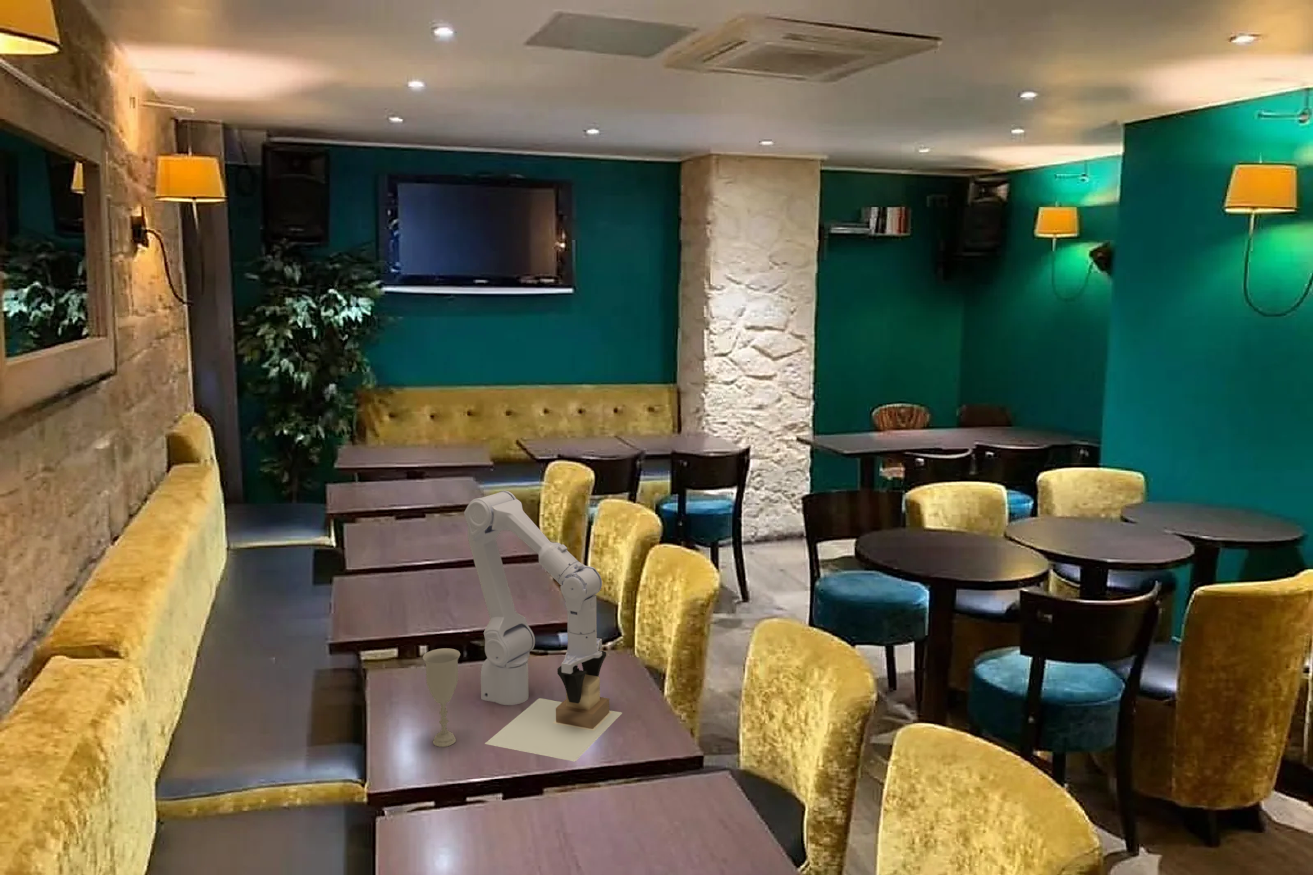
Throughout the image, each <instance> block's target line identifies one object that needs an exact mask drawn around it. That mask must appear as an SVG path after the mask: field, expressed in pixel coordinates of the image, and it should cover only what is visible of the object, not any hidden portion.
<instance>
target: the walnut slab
mask: <svg viewBox="0 0 1313 875" xmlns="http://www.w3.org/2000/svg"><path fill="white" fill-rule="evenodd" d="M561 702H562V703H561V704H560V705H559V706H558V707H556V722H557V723H562V724H568V725H573V726H579V727H584V728H589V729H593V728H594V727H595V726H596V725H597V724H598V723H599V722H600V721H601V720H602V719H603V718H604V717H605V716H606V715H607V714H608V713H609V710H610V698H609V697H604V696H600V701H599V702H598V703H597V704H595V705H594V706H593V707H592V708H591V709H590V710H584V709H579V708H573V707H568V706H566V699H564V700H563V701H561Z"/></svg>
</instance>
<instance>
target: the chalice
mask: <svg viewBox="0 0 1313 875" xmlns="http://www.w3.org/2000/svg"><path fill="white" fill-rule="evenodd" d="M460 656H461V653H460V651H459V650H457V649H454V648H447V647H446V648H437V649H432V650H430V651H428V652H426V653H424V655H422V660H423V662H424V663H425V675H426V677H425V679H426V685H427V688H428V689H429V693H430V694H431V696H432V698H433V699H434V701H435V702H436V703H437V704H439V705H440V711H439V715H440V716H441V717H440V721H439V722H438V723H439V724H440V726H441V730H440V731H438V733H436V734H435V736H434V739H433V741H432V743H433V745H434V746H435V747H439V748H446V747H450V746H452V745H454V744H455V743H456V742H457V739H456V737H455V735H454V733H452V731H449V730H448V728H447V726H448V723H449V722H450V721H449V720H448V718H447V714H448V713H449V712H448V710H447V703H449V702H451V700H452V698H453V695H454V693H455V691H456V688H457V685H458V681H459V663H458V662H459V658H460Z"/></svg>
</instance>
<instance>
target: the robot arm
mask: <svg viewBox="0 0 1313 875" xmlns="http://www.w3.org/2000/svg"><path fill="white" fill-rule="evenodd" d="M463 514H464V515H463V516H464V518H465V519H464V520H465V522H466V525H467V540H468V544H469V547H470V548H469V549H470V551H471V555H472V559H473V563H474V566H475V570H476V573H477V577H478V581H479V584H480V587H481V591H482V595H483V599H484V601H485V602H484V603H485V606H486V610H487V613H488V616H489V621H488V623H487V625H486V627H485V629H484V632H483V635H484V653H485V656H486V659H485V660H484V662H483V663H482V666H481V669H480V698H481V700H482V701H486V702H487V701H488V702H493V703H496V704H498V705H502V706H503V705H504V706H514V705H520V704H523V703H525V702H526V701H527V700H529V695H530V694H529V658H530V657H531V656H530V655H531V654H530V652H531V651H532V650H533V649H534V648H535V646H536V645H535V644H536V638H535V634H534V632H533V630H532V629H531V627H530V626H529V625H528V622H527V617H525V616H524V615H522V614H520V613H518V612H517V611H516V607H515V604H514V600H513V597H512V593H511V588H510V587H509V582H508V579H507V575H506V571H505V566H504V564H503V560H502V556H501V554H500V549H499V546H498V543H497V539H498V537H499V535H500V534H501V532H502V531H510V532H512V534H514V535H515V536H516V537H518V539H519V540H521V541H522V542H523V543H525V544H526V545H527V546H528V548H530V549H531V550H533V551H534V552H535V553H537V555H538V563H539V565H540V566H541V567H542V568H543V569H544V570H545V571H546V572H547V573H548V574H549V575H550V576H551V577H552V578H553V579H554V580H555V581H556V582H557V583H558V584H559V585H560V586H559V588H560V593H561V596H562V597H563V598H564V601H565V607H566V612H567V614H566V615H567V650H566V653H565V656H564V659H563V661H562V662H561V665H560V666H558V668H557V671H556V672H557V675H558V676H559V677H560V679H561V681H562V683H563V686H564V689H565V694H566V693H567V696H568V700H569V702H572V703H579V702H580V699H581V692H582V684H583V680H584V677H585V675H592V676H598V677H600V672H601V668H602V667H603V664H604V661H605V659H606V657H607V652H606V651H604V650H601V649H602V648H603V639H602V638H597V636H598V635H597V631H598V630H597V628H598V627H597V594H598V593H600V591H601V589H602V586H603V580H602V577H601V574H600V573H599V572H598V571H597V569H596V568H595V567H593V566H589V565H585V564H584V563H582V562H580V561H579V560H577V558H576V557H575V556H574V555H573V554H571V553H570V551H568V547H567V546H566V545H565V544H563V543H560V542H551V541H550V540H549V538H548V537H547V536H546V534H544V533H543V532H542V530H541V529H540V528H539V527H538V526H537V525H536V524H535V523H534V521H533V520H532V519H531V518H530V517H529V515H527V513H525V511H524V510H523V504H522V502H521V501H520V500H519V499H518V498H516V496H515V495H514V493H512V492H510V491H508V490H501V491H499V492H496V493H494V494H493V493H492V494H491V495H490V494H489V495H487V496H483V497H479V498H478V497H477V498H474V499H472V500H471V501H470V502H469V503H468V505H467V506H466V508H465V510H464V512H463ZM580 664H581V666H582V670H581V669H580V668H579V667H578V665H580Z"/></svg>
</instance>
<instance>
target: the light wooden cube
mask: <svg viewBox="0 0 1313 875" xmlns="http://www.w3.org/2000/svg"><path fill="white" fill-rule="evenodd" d="M600 680H601V678H600V676H599V677H598V676H592V675H585V677H584V680H583V684H582V692H581V699H580V702H579V703H572V702H569V700H568V696H567V693H566V692H565V697H566V698H565V700H566V706H568V707H573V708H579V709H584V710H590V709H591V708H592V707H593V706H594V705H595V704H597V703H598V702H599V701H600V697H601V696H600V695H601V691H600V690H601V688H600V687H601V686H600V685H601V682H600Z"/></svg>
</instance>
